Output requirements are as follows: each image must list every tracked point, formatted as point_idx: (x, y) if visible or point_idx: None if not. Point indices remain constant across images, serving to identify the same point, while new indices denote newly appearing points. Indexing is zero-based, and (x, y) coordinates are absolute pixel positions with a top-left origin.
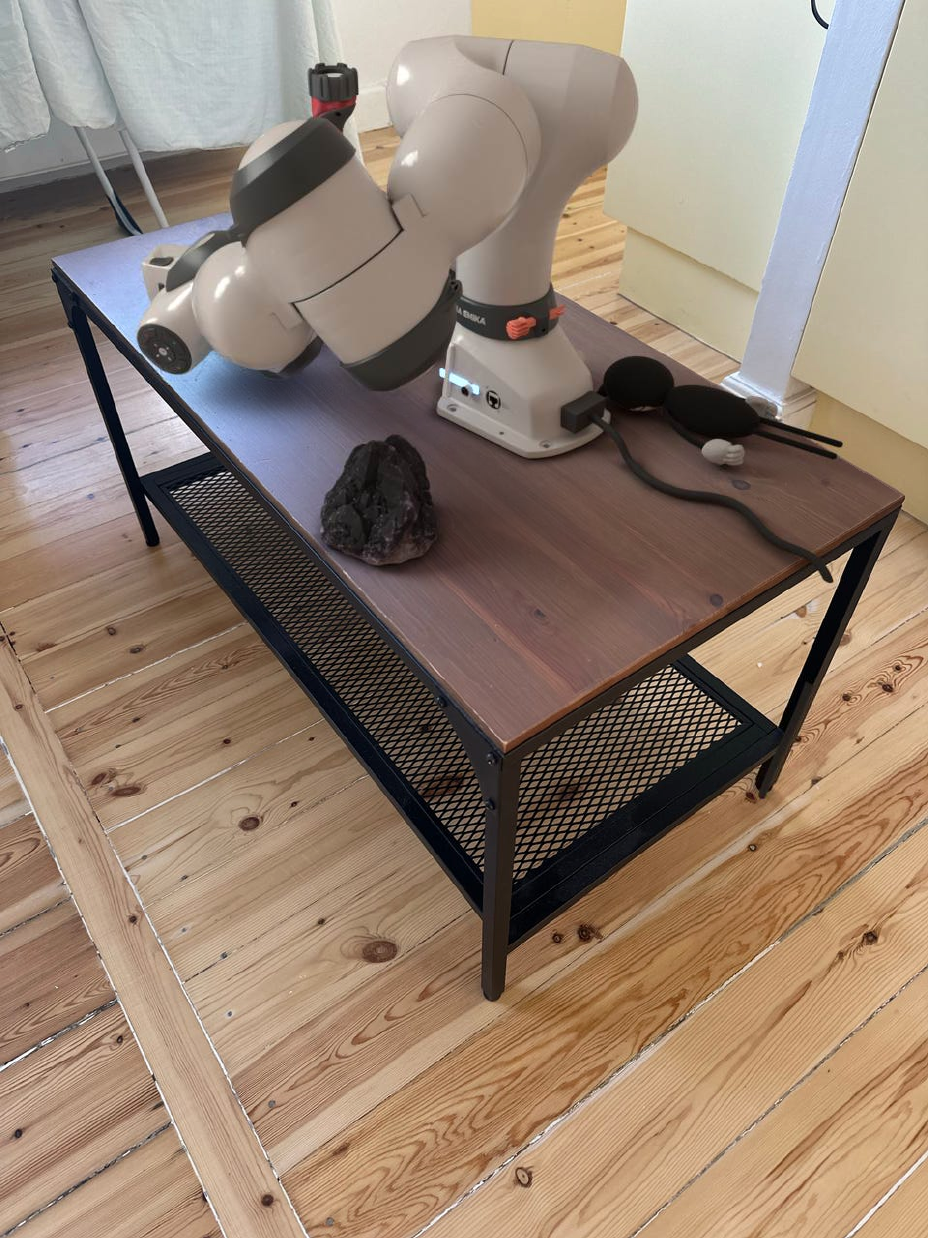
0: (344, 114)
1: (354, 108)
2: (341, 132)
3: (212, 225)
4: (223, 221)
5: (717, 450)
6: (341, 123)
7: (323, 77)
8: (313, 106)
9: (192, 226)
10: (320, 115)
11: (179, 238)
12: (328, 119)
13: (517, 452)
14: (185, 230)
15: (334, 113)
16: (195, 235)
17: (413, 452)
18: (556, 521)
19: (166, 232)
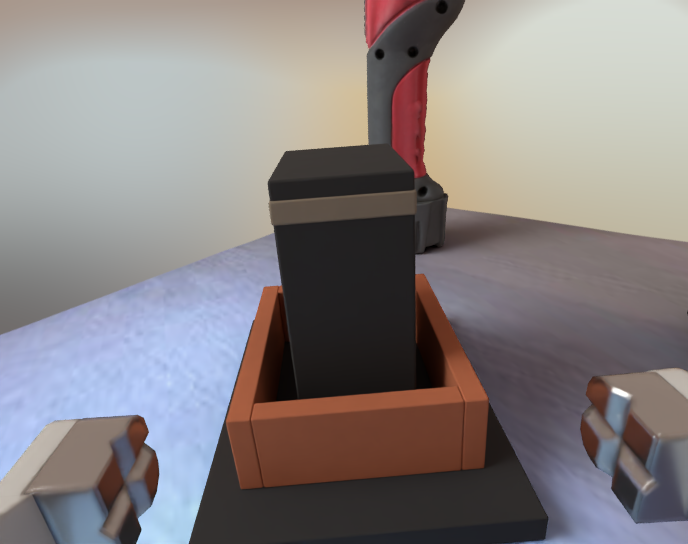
0: (452, 10)
1: (462, 7)
2: (428, 65)
3: (151, 291)
4: (176, 279)
5: None
6: (436, 40)
7: None
8: (380, 1)
9: (104, 300)
10: (398, 17)
11: (63, 337)
12: (416, 25)
13: None
14: (85, 313)
15: (436, 5)
16: (108, 321)
17: None
18: None
19: (34, 325)
